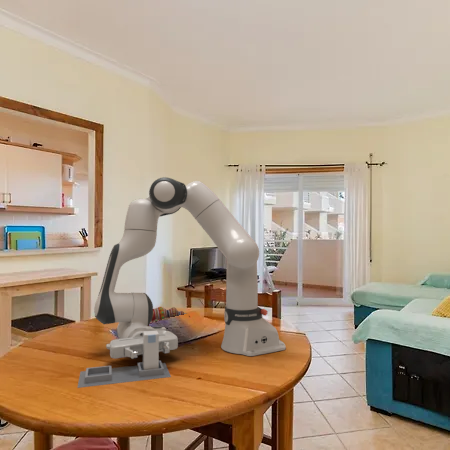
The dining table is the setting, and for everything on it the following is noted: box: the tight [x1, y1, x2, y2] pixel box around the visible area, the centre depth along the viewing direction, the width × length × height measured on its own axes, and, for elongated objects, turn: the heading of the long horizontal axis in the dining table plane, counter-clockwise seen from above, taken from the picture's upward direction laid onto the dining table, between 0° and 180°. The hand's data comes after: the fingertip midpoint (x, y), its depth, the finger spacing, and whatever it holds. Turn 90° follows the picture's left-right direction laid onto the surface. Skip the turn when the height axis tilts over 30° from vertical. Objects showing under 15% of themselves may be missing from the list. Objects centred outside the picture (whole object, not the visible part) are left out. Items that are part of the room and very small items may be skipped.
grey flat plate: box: [77, 360, 172, 389], centre depth 102 cm, size 24×11×2 cm, turn 108°
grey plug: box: [142, 330, 160, 370], centre depth 104 cm, size 4×5×11 cm
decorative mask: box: [151, 306, 187, 322], centre depth 161 cm, size 24×8×30 cm
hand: (151, 353), depth 104 cm, fingers open, 8 cm apart
